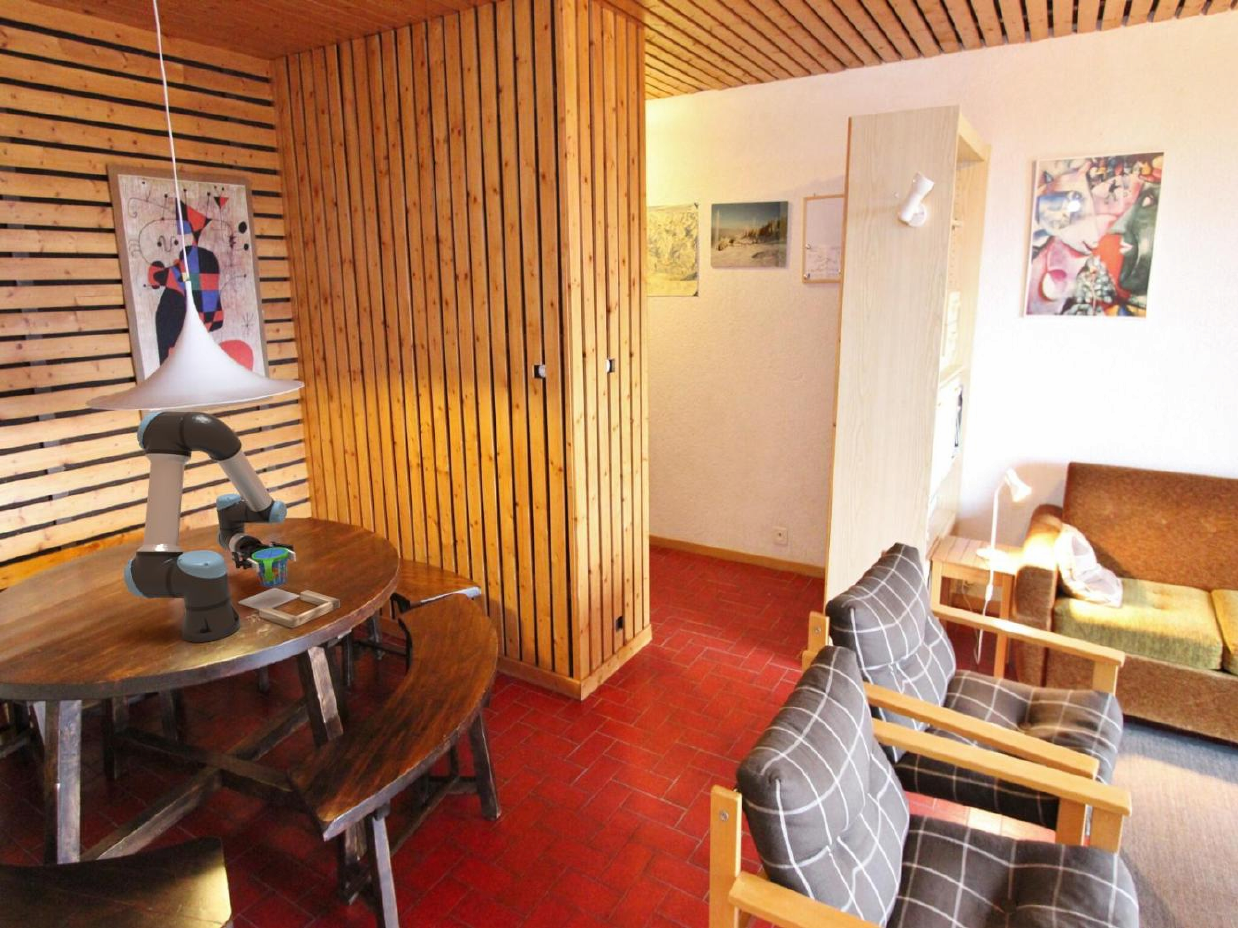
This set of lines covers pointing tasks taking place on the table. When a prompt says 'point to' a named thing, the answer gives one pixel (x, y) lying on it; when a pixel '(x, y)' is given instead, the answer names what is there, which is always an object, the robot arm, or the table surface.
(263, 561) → the snack cup
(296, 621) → the wooden frame
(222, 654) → the table surface
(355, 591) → the table surface
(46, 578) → the table surface
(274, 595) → the grey mat
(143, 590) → the robot arm
